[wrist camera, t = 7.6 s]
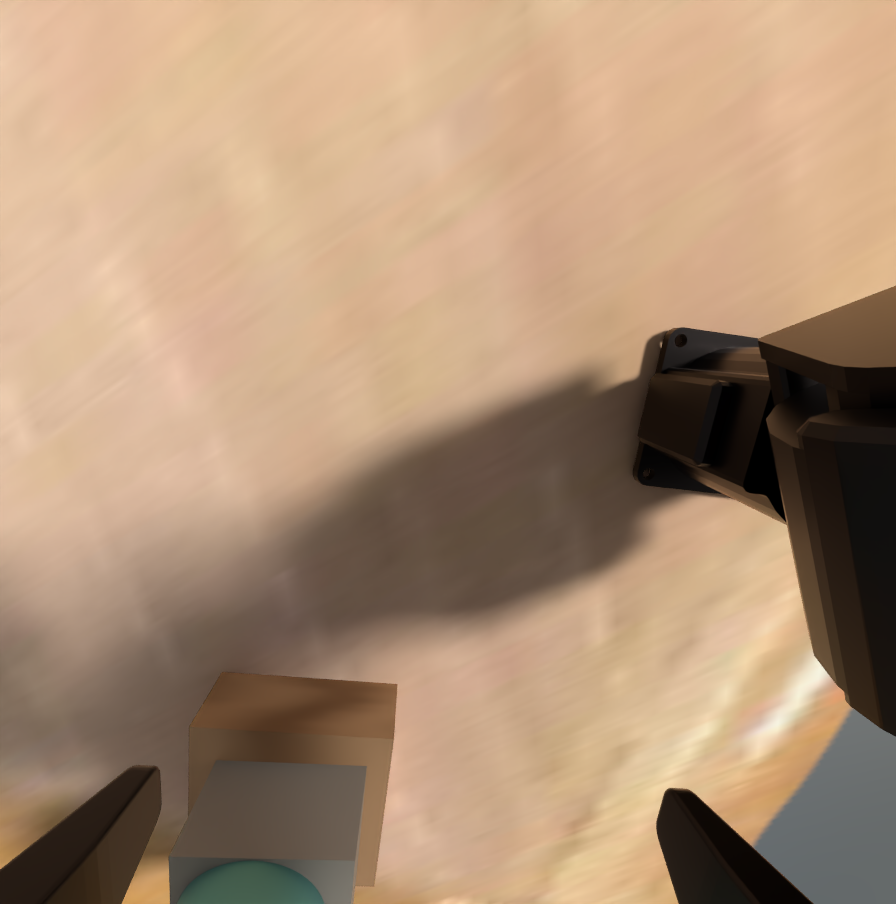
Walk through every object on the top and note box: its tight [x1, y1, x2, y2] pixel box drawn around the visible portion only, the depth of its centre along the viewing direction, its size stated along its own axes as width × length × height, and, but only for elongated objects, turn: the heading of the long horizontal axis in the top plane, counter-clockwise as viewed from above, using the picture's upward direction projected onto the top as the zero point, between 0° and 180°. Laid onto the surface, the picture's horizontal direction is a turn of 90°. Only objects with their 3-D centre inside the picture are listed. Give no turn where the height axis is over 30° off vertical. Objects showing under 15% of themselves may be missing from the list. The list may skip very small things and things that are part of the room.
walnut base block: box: [188, 672, 397, 887], centre depth 20 cm, size 8×8×4 cm
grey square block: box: [169, 760, 367, 904], centre depth 17 cm, size 6×6×4 cm
